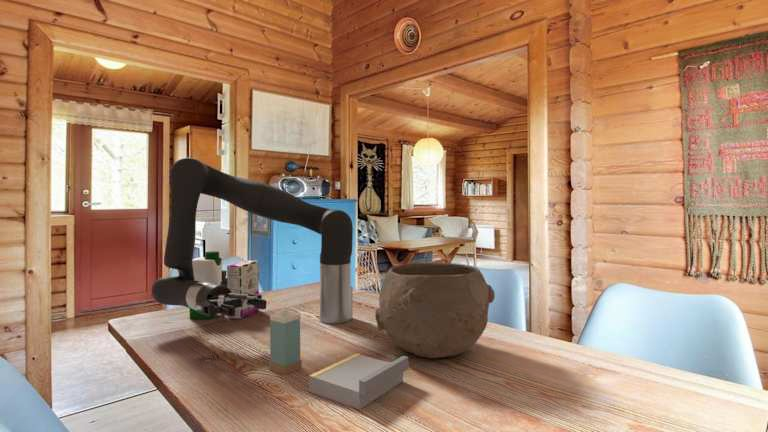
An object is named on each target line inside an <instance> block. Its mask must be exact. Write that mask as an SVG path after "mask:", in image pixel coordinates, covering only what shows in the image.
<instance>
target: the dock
mask: <svg viewBox="0 0 768 432" xmlns="http://www.w3.org/2000/svg"><path fill="white" fill-rule="evenodd" d="M408 370H409V356H406V355H402V356H400V357H398V358H396V359H395V360H392V361H391V362H389V361H386V360H383V359H382V360H381V359H377V358H373V357H371V356H367V355H362V354H360V353H354V354H352V355H350V356H348V357H345V358H343V359H341V360H339V361H337V362H334V363H333V364H330V365H329V366H326V367H324V368H322V369H320V370H318V371H315V372H313V373H311V374H310V375H308V392H309V393H312V394H314V395H318V396H320V397H323V398H326V399H329V400H332V401H334V402H337V403H340V404H343V405H345V406H348V407H352V408H353V409H357V410H361V409H362V408H364V407H365V406H368V405H369V404H370V403H371V402H373V401H375V400H376V399H378V398H380V397H381V396H383V395H384V394H386V393H387V392H389V391H390V390H391V389H393V388H395V387H396V386H398V385H400V384H401V383H403V381H404V372H406V371H408Z"/></svg>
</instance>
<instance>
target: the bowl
mask: <svg viewBox="0 0 768 432" xmlns="http://www.w3.org/2000/svg"><path fill="white" fill-rule="evenodd" d="M495 296H496V295H495V291H494V289H493V288H492V286H491V285H489V284H488V283H487V281H486V278H484V275H483V273H482V271H481V270H480V269H479V268H478V267H476V266H472V265H467V264H461V263H450V262H448V263H447V262H415V263H404V264H398V265H394V266H391V267H390V268H389V269H388V271H387V272H386V274H385V275H384V278H383V280H382V283H381V286H380V291H379V296H378V297H379V299H378V302H379V303H378V305H379V308H376V309H375V313H374V314H375V320H376V325H377V329H378V330H379V331H385V332H386V333H387V334H388V335H389V337H390V338H391V339H392V340H393V341H394V342H395V343H396V345H398V346H399V347H401V348H402V349H403V350H404V351H405V352H407V353H410V354H412V355H415V356H418V357H422V358H427V359H437V358H448V357H452V356H453V357H454V356H456V355H458V354H462V353H464V352H466V351H468V350H470V348H471V347H473V346H474V345H475V344H476V343H477V342H478V340H479V339H480V338H481V336H482V334H484V332H485V330H486V328H487V325H488V321H489V320H488V316H489V307H490V304H492V303H493V302H494V300H495V298H496V297H495Z"/></svg>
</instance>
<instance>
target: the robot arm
mask: <svg viewBox="0 0 768 432" xmlns="http://www.w3.org/2000/svg"><path fill="white" fill-rule="evenodd" d="M169 175H170V194H171V197H170V198H171V199H170V214H169V215H170V216H169V222H168V229H167V236H166V241H165V249H164V256H163V264H164V266H165V267H166V268H170V269H174V270H177V272H178V275H177V276H176V275H175V276H162V277H159V278H158V279H157V280H155V281H154V283H152V284H153V285H152V287H151V296H152V298H153V299H154V300H155V302H157V303H158V304H161V305H166V306H180V307H181V306H182V307H185V308H188V309H189V308H192V309H194V310H196V311H197V312H198V313H201V314H203V315H206V316H210V317H212V316H216V317H219V316H226V317H228V316H229V317H233V316H235V309H246V308H248V307H254V308H258V309H259V310H266V309H267V300H266V299H263V294H260V293H259V294H253V293H248V292H245V293H244V294H236V293H232V292H231V291H230V289H229V288H228V287H226V286H224V285H219V284H214V283H210V282H200V281H195V279H194V273H193V264H192V260H193V259H194V252H195V245H196V231H197V230H196V229H197V228H196V218H197V209H198V204H199V199H200V195H201V194H202V195H207V196H210V197H213V198H216V199H220V200H223V201H225V202H227V203H229V204H232V205H234V206H235V207H238V208H239V209H241V210H243V211H245V212H247V213H250V214H253V215H256V216H259V217H262V218H265V219H268V220H272V221H275V222H279V223H285V224H288V225H289V224H290V225H296V226H300V227H303V228H306V229H308V230H311V231H313V233H314V232H315V233H317V234H319V235H320V236H321V237H320V238H321V239H320V240H321V245H320V247H321V249H320V254H319V321H320V322H322V323H326V324H343V323H346V322H350V321H351V320H352V318H353V317H354V315H353V313H354V312H353V310H354V309H353V308H354V307H353V305H354V304H353V302H354V300H353V297H354V295H353V293H354V292H353V291H354V289H353V287H352V284H351V283H352V282H351V281H352V278H351V277H352V274H351V271H352V269H351V266H352V261H351V258H352V255H353V254H352V253H353V243H354V242H353V237H354V235H353V232H354V230H353V229H354V228H353V221H352V218H351V216H350V215H349V214H348V213H347V212H345V211H344V210H340V209H332V208H326V207H323V206H319V205H315V204H312V203H309V202H308V201H307V202H306V201H304V200H303V199H302V198H301V199H300V198H299V197H297V196H295V195H294V194H291V193H289V192H287V191H285V190H282V189H280V188H278V187H275V186H272V185H269V184H266V183H264V182H260V181H255V180H252V179H247V178H243V177H238V176H235V175H232V174H229V173H225V172H223V171H221V170H220V169H219V170H218V169H217V168H214V167H212V166H210V165H208V164H206V163H204V162H203V161H200V159H199V160H198V159H196V158H194V157H182V158H180V159H178V160H176V161H175V162H173V165H172V166H171V168H170V171H169ZM241 301H244V306H240V305H241Z"/></svg>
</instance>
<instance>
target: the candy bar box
mask: <svg viewBox="0 0 768 432" xmlns="http://www.w3.org/2000/svg"><path fill="white" fill-rule="evenodd" d="M226 272H227V276H226V278H227V287H228V288H229V289H230V291H231V292H232V293H236V294H244V293H245V292H248V293H253V294H259V295H260V285H259V282H260V280H259V260H249V259H248V260H242V261H239V262H236V263H232V264H229V265H226ZM240 306H244V301H241V305H240ZM257 311H260V309H258V308H254V307H248V308H246V309H235V316H233V317H229V316H227V318H228V319H237V320H243V319H245V318H246V317H248V316H250V315H252V314H254V313H256V312H257Z"/></svg>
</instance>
